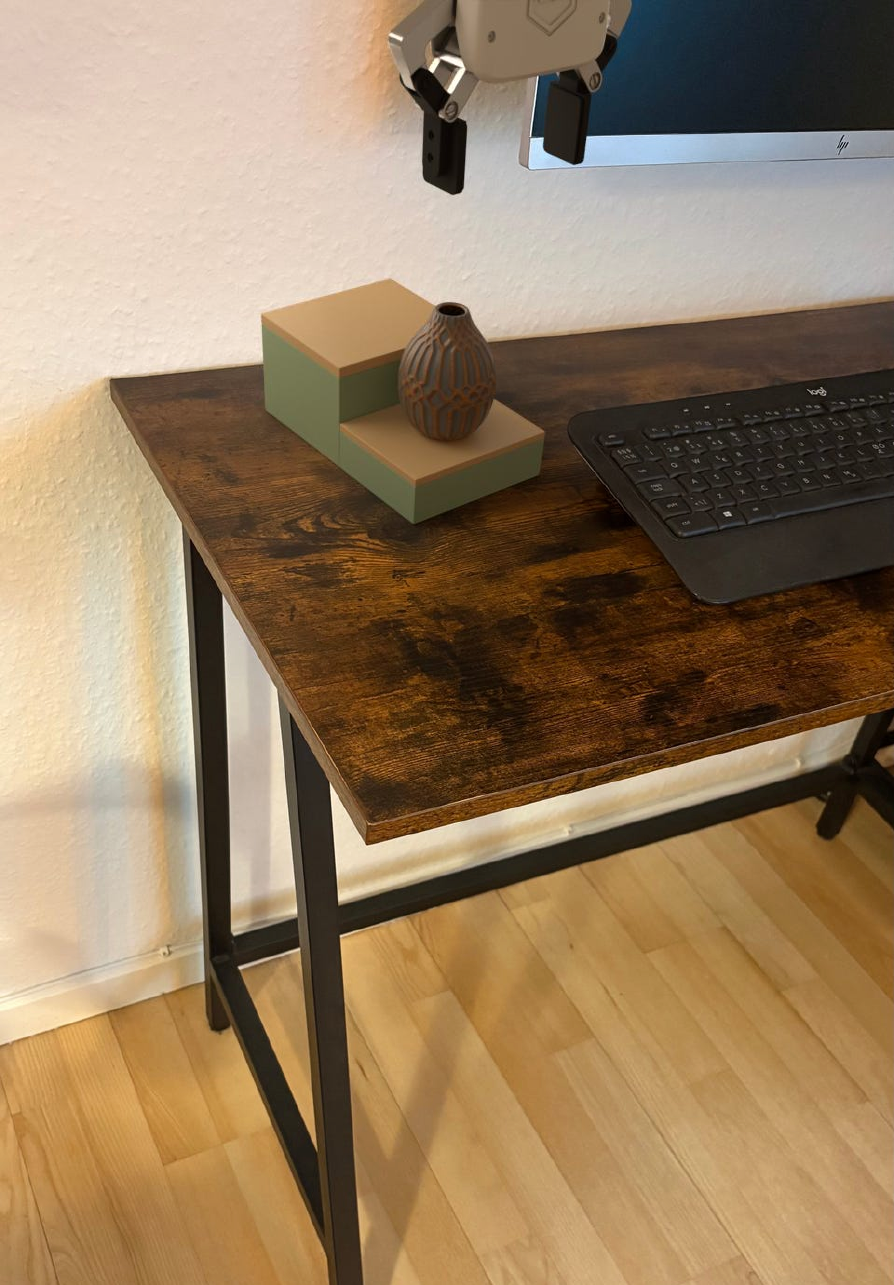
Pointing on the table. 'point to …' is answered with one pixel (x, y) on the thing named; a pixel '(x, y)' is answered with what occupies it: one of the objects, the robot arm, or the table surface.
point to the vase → (447, 375)
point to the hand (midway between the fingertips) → (504, 172)
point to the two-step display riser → (382, 403)
